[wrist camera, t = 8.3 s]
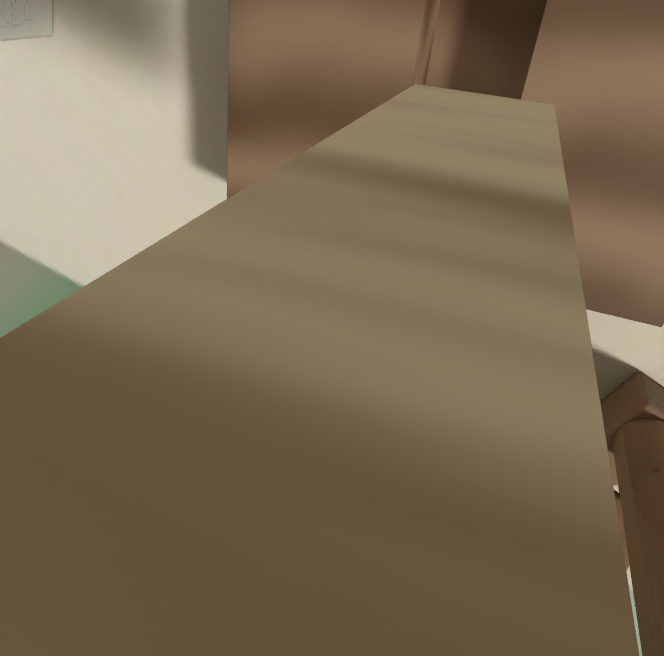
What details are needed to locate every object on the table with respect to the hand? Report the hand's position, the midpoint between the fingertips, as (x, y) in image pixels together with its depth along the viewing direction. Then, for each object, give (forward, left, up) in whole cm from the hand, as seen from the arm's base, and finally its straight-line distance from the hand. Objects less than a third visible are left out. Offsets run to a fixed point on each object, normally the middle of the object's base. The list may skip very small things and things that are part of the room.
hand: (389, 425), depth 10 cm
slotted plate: (-1, -2, -26) cm, 26 cm away
